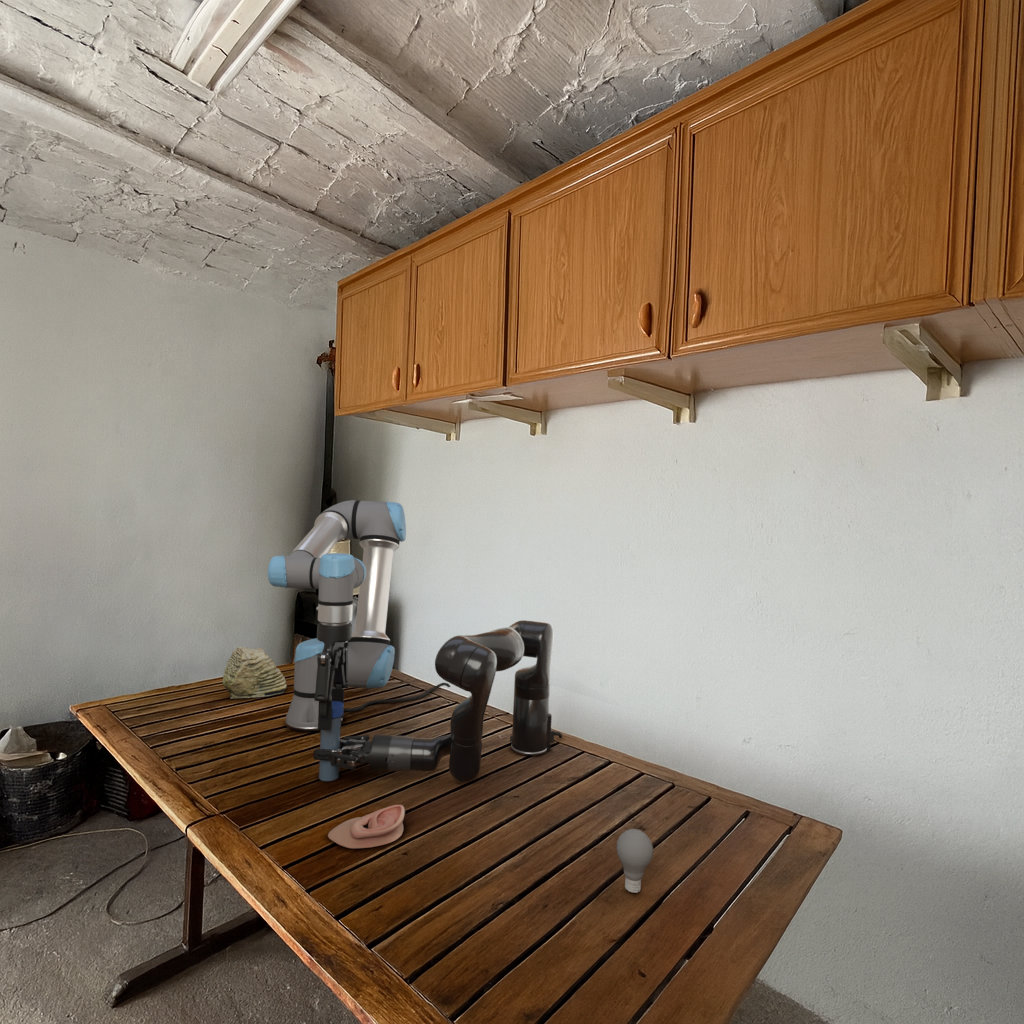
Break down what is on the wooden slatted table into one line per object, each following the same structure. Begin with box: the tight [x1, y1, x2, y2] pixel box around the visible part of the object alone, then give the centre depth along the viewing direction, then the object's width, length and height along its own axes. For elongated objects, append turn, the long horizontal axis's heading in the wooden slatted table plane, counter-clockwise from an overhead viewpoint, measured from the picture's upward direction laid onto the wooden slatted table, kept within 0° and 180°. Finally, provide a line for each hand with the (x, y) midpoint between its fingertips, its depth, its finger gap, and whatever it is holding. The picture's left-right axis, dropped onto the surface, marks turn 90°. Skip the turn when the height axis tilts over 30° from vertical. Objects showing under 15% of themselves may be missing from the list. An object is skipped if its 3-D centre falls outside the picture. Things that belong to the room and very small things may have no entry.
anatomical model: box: [327, 804, 406, 849], centre depth 120 cm, size 13×4×12 cm
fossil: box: [222, 646, 288, 699], centre depth 198 cm, size 9×18×15 cm, turn 132°
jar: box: [318, 716, 342, 782], centre depth 143 cm, size 4×4×16 cm
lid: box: [331, 701, 345, 718], centre depth 143 cm, size 5×5×2 cm
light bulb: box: [615, 828, 654, 894], centre depth 106 cm, size 6×6×10 cm
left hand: (330, 723), depth 143 cm, fingers open, 7 cm apart
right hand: (318, 749), depth 143 cm, fingers closed on jar, 4 cm apart
